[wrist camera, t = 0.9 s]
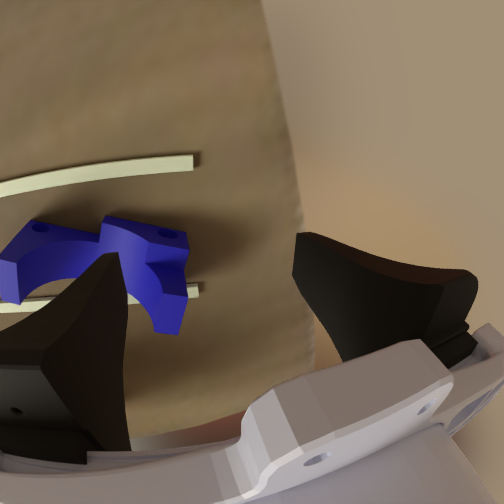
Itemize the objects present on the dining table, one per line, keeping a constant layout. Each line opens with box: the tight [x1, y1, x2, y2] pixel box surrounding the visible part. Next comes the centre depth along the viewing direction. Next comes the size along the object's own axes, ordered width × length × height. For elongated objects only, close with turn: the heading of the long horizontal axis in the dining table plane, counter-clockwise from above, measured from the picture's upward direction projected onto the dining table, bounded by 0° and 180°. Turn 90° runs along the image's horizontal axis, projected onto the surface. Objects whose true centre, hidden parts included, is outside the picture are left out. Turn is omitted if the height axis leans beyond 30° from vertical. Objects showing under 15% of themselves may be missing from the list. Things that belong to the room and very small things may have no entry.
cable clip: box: [0, 216, 189, 335], centre depth 17 cm, size 12×4×6 cm, turn 69°
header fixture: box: [0, 155, 199, 313], centre depth 15 cm, size 11×24×5 cm, turn 88°
